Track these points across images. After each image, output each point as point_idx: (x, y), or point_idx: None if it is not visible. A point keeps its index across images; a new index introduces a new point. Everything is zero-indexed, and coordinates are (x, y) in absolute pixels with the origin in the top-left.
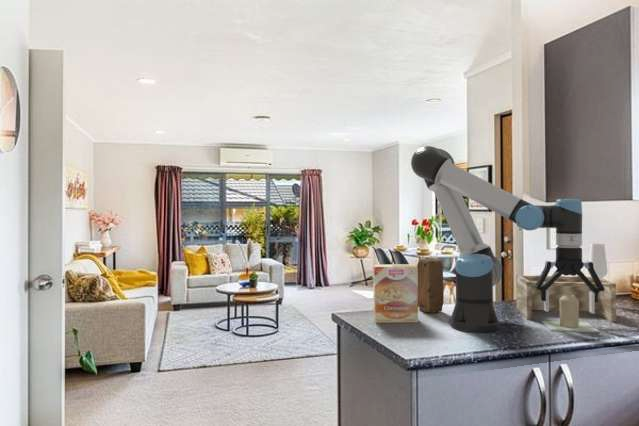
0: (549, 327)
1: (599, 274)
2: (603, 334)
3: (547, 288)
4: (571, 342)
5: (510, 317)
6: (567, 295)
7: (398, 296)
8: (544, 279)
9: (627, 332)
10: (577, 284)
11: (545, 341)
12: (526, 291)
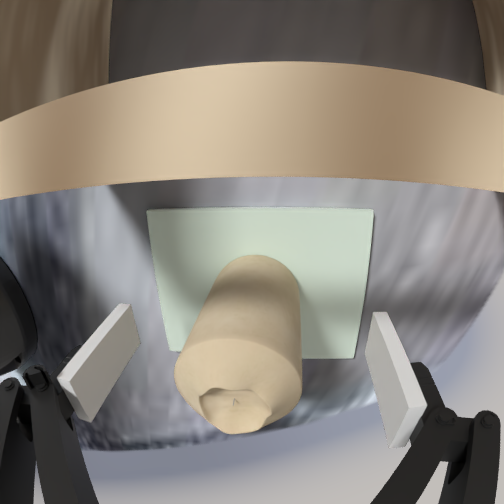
0: (166, 328)
1: None
2: (353, 372)
3: (74, 435)
4: (216, 439)
5: None
6: (227, 385)
7: None
8: (32, 474)
9: (452, 331)
10: (450, 183)
11: (153, 429)
12: None
